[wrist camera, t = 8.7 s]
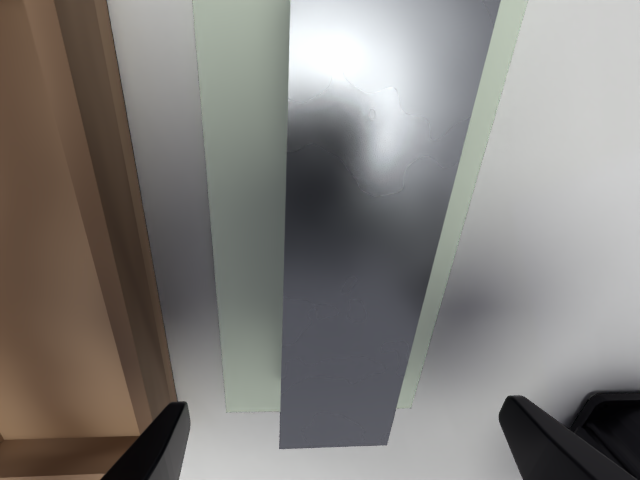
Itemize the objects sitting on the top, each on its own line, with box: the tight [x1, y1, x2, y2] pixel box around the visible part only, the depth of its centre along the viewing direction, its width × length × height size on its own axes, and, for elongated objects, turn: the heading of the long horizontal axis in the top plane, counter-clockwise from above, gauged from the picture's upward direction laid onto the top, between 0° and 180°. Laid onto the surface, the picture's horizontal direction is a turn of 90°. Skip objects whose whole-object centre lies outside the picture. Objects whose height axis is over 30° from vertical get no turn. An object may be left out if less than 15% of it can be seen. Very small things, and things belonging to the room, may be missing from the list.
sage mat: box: [192, 0, 528, 413], centre depth 11 cm, size 9×18×1 cm, turn 176°
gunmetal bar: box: [279, 0, 501, 449], centre depth 10 cm, size 4×14×3 cm, turn 176°
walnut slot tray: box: [0, 0, 177, 480], centre depth 10 cm, size 8×18×2 cm, turn 176°
